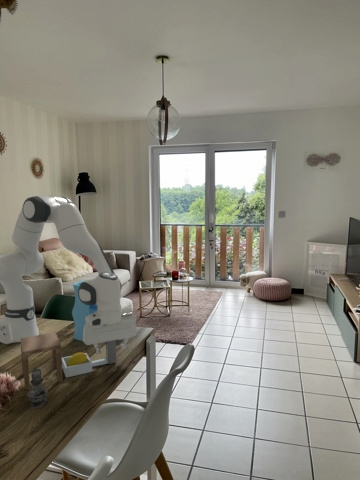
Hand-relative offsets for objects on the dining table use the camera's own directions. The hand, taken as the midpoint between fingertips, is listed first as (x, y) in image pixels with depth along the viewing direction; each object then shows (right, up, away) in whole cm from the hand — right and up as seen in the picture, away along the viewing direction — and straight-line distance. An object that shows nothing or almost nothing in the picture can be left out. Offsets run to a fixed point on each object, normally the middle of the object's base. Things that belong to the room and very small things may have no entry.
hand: (111, 351), depth 139 cm
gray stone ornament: (-17, -8, -27) cm, 33 cm away
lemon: (-15, -4, -7) cm, 17 cm away
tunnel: (-22, -6, -10) cm, 25 cm away
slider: (-7, -5, -3) cm, 9 cm away
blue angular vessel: (-15, -2, +26) cm, 30 cm away
